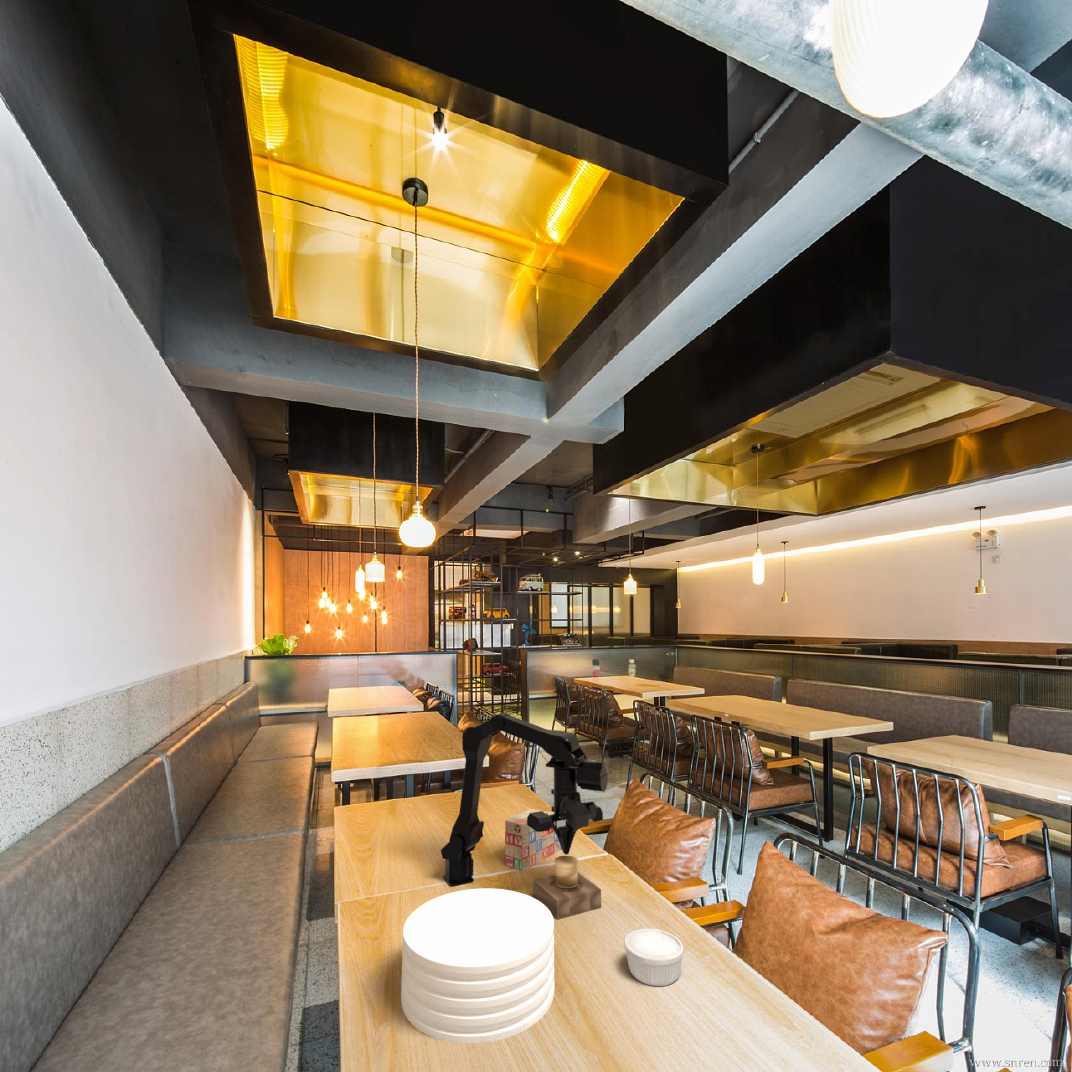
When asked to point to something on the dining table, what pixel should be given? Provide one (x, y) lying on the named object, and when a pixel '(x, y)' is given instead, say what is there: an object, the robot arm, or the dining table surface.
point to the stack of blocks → (527, 842)
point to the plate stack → (477, 965)
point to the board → (567, 896)
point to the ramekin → (654, 956)
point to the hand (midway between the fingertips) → (565, 853)
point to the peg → (566, 872)
